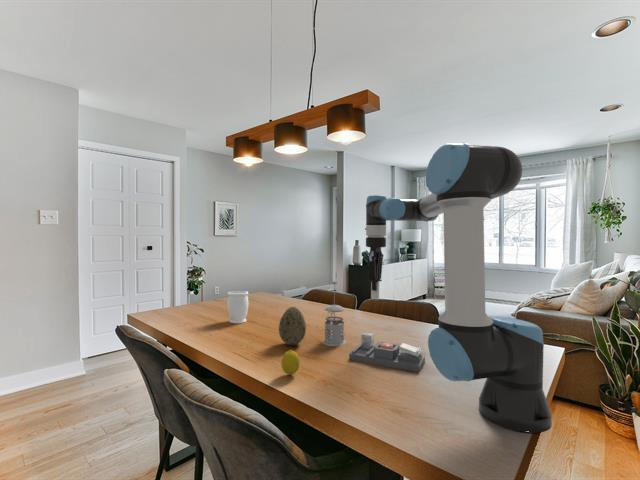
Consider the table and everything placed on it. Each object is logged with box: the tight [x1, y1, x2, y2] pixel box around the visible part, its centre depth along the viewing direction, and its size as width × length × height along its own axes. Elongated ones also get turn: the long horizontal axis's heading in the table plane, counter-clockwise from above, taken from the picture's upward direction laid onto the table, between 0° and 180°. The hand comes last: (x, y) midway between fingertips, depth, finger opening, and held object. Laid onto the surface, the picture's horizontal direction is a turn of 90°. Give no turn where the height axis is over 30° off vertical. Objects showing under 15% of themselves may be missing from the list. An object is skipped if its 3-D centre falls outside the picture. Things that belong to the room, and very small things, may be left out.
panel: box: [348, 341, 426, 373], centre depth 114 cm, size 10×24×5 cm, turn 63°
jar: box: [226, 290, 249, 324], centre depth 166 cm, size 11×10×15 cm
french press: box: [322, 280, 347, 347], centre depth 135 cm, size 10×12×25 cm
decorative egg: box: [278, 306, 307, 346], centre depth 131 cm, size 11×11×15 cm
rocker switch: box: [399, 342, 422, 357], centre depth 111 cm, size 4×6×2 cm
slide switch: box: [361, 332, 375, 349], centre depth 121 cm, size 3×4×5 cm
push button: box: [380, 342, 394, 350], centre depth 114 cm, size 4×4×3 cm
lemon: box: [281, 349, 300, 377], centre depth 102 cm, size 6×6×8 cm
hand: (375, 298), depth 125 cm, fingers closed
